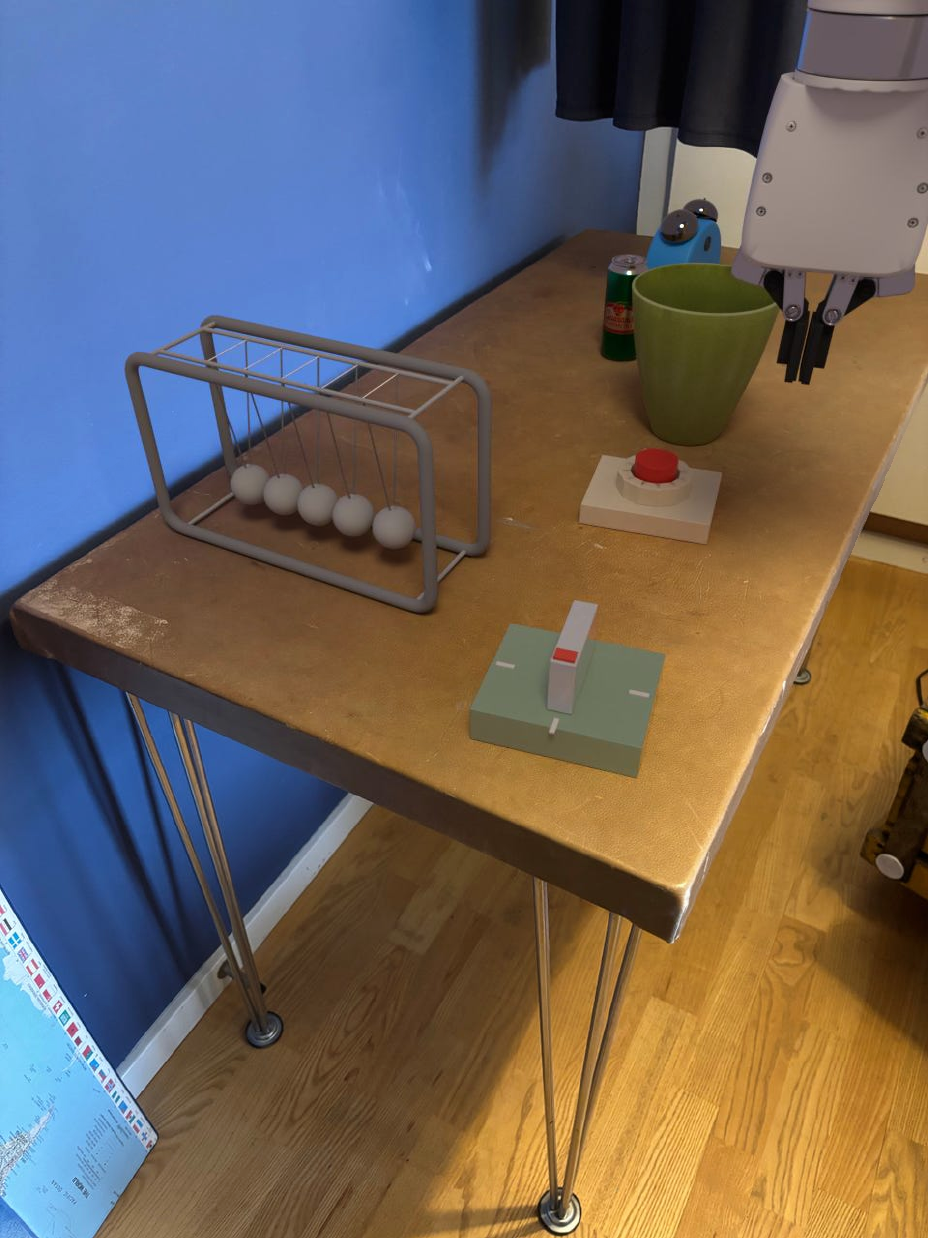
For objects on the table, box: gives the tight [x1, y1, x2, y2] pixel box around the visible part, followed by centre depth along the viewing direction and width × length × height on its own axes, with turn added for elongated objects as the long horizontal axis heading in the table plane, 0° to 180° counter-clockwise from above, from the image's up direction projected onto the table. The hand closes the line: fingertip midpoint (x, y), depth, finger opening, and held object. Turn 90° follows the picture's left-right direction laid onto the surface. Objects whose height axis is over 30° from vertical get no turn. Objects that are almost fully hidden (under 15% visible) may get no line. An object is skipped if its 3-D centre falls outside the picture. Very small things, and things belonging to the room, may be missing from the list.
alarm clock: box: [645, 197, 722, 269], centre depth 123 cm, size 13×6×15 cm, turn 146°
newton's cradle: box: [124, 314, 493, 614], centre depth 79 cm, size 30×10×18 cm, turn 61°
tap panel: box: [469, 622, 666, 779], centre depth 66 cm, size 12×11×3 cm
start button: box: [634, 448, 680, 484], centre depth 86 cm, size 4×4×2 cm
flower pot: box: [632, 263, 781, 447], centre depth 96 cm, size 15×15×16 cm
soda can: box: [600, 254, 650, 362], centre depth 114 cm, size 5×5×12 cm
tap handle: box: [547, 599, 599, 714], centre depth 64 cm, size 7×2×5 cm, turn 161°
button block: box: [578, 454, 723, 545], centre depth 88 cm, size 12×10×4 cm
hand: (797, 374), depth 60 cm, fingers closed
